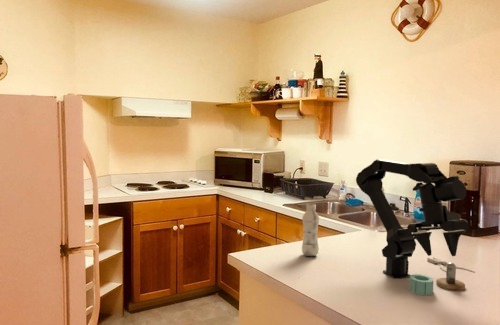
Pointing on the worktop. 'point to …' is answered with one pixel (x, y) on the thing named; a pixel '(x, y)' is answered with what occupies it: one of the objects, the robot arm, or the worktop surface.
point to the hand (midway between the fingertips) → (441, 255)
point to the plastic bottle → (310, 231)
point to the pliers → (440, 262)
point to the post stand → (450, 279)
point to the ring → (421, 284)
